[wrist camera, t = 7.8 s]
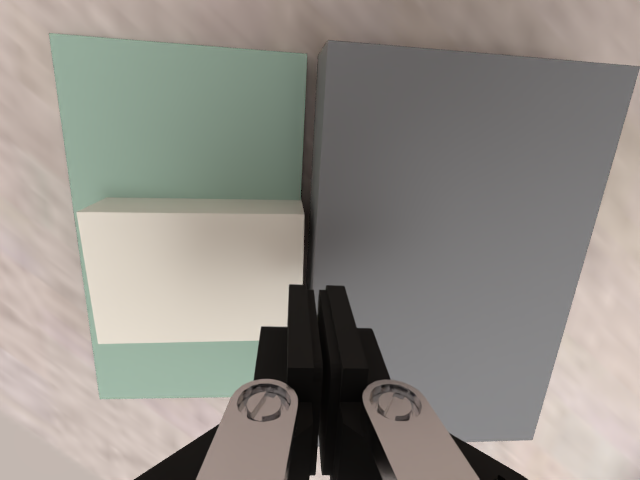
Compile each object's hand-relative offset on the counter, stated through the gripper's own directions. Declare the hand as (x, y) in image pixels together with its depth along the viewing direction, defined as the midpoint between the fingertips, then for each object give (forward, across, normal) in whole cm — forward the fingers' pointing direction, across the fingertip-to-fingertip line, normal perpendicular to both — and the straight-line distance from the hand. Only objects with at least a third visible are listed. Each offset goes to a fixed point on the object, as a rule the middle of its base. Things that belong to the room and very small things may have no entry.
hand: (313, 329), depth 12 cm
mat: (+8, +6, 0) cm, 10 cm away
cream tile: (+8, +5, +1) cm, 9 cm away
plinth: (+9, -6, 0) cm, 11 cm away
